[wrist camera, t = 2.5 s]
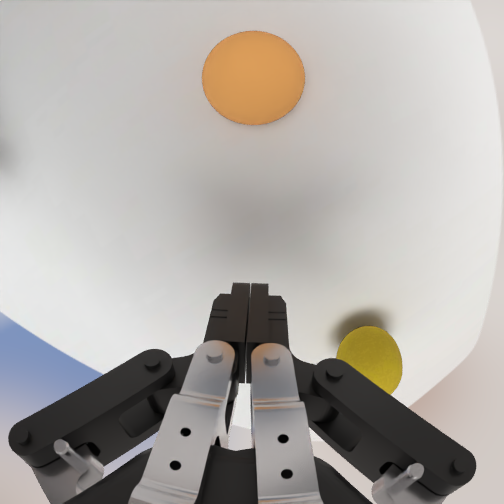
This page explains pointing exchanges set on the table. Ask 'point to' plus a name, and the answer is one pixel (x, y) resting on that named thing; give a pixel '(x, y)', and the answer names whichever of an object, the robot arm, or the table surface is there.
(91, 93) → the table surface
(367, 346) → the lemon
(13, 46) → the table surface
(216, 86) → the ball
